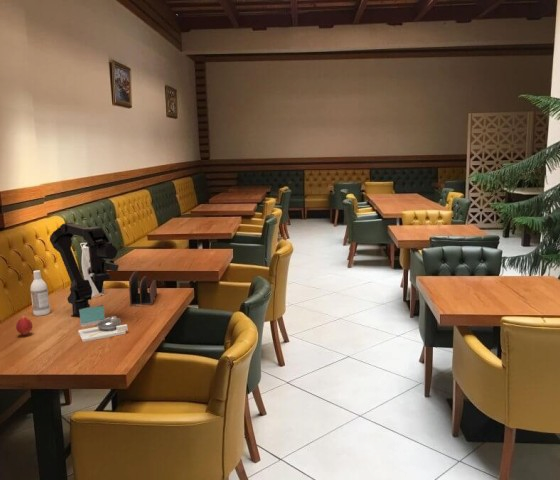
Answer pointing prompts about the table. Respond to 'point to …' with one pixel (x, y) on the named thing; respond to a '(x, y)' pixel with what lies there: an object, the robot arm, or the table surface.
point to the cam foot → (98, 318)
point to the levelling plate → (101, 333)
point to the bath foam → (39, 295)
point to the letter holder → (141, 291)
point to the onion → (24, 326)
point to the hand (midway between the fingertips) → (100, 292)
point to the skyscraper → (85, 272)
